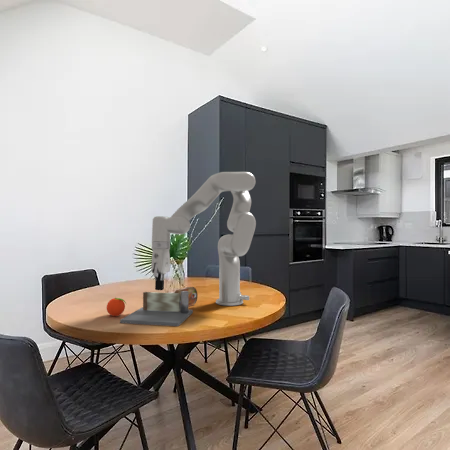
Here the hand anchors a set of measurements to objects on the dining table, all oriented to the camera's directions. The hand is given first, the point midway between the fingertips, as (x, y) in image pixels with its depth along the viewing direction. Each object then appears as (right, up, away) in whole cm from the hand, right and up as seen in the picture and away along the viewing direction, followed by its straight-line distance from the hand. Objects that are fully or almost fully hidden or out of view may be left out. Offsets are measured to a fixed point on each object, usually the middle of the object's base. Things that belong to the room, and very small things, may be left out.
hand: (159, 289), depth 139 cm
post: (+11, -9, -8) cm, 16 cm away
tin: (+10, -9, +7) cm, 15 cm away
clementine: (-15, -9, -8) cm, 19 cm away
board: (+2, -9, -11) cm, 14 cm away
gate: (+2, -7, -6) cm, 10 cm away
